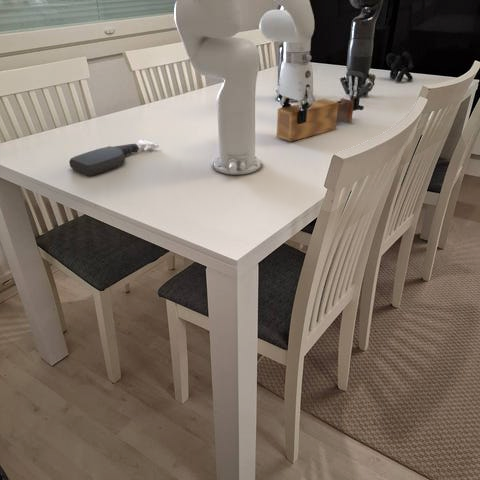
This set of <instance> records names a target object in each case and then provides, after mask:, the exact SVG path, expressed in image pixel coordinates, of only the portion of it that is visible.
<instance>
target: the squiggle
mask: <svg viewBox="0 0 480 480" xmlns="http://www.w3.org/2000/svg"><path fill="white" fill-rule="evenodd" d="M401 57H402V59H401ZM391 59H392V60H391ZM393 60H394V61H393ZM385 61H386V64H387V67H390V68H391V70H390V72H389V78H390V79H391V80H395V79H396V81H397V82H399V83H400V82H402V81H403V79H404V76H406V78H407V80H408V81H412V80H413V79H414V77H413V75H412V74H411V73H410V72H409V71H410V70H412V69H413V68H414V64H413V61H412V57H411V54H410V53H409V52H408V51H403V53H402V54H401V55H396V54H394V53H392V52H390V53H387V55H386V57H385ZM406 62H407V65H408V66H407V67H405V66H404V65H405V64H406ZM400 70H401V71H400Z"/></svg>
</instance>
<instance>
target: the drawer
mask: <svg viewBox="0 0 480 480" xmlns="http://www.w3.org/2000/svg"><path fill="white" fill-rule="evenodd" d="M335 102H338V111H337V120H336V124H340V123H343V122H347V123H351V122H352V120H353V114H354V112H355V111H363V110H364V105H360V104H359V107H358V108H354V109H353V106H354V101H351V100H350V99H347V98H343V97H342V98H340V99H339V100H336V101H335Z"/></svg>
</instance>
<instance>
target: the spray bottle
mask: <svg viewBox="0 0 480 480" xmlns="http://www.w3.org/2000/svg"><path fill="white" fill-rule="evenodd" d="M159 148H160V145H159V144H158V143H155V142H151V141H148V140H144V139H139V140H138V141H137V142H135V143H129V144H128V143H126V144H122V145H113V146H105V147H100V148H97V149H94V150H90V151H87V152H83V153H81V154H78V155H74V156H73V157H70V159H69V161H68V162H69V167H70V168H71V169H72V170H74V171H75V172H78V173H81V174H83V175H85V176H89V177H90V176H91V177H92V176H95V175H99V174H102V173H105V172H107V171H110V170H113V169H116V168H118V167H120V166H122V165H123V164H124V163H125V158H126V156H127V155H131V154H133V153H138V151H140V150H143V151H144V152H146V151H147V150H149V149H159Z"/></svg>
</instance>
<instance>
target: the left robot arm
mask: <svg viewBox="0 0 480 480" xmlns="http://www.w3.org/2000/svg"><path fill="white" fill-rule="evenodd" d="M272 1H273V2H274V3H277V4H278V5H279V4H280V5H281V6H282V7H283V8H285V10H277V9H270V10H268V11H266V12H265V13H264V14H263V16H262V17H261V18H260V21H259V31H260V34H261V36H262V37H263V38H264V39H265V40H268V41H270V42H277V43H282V42H284V48H283V62H282V65H281V72H280V82H279V86H278V88H276V89H275V92H276V95H277V94H278V96H279V99H280V101H279V103H280V105H281V108H283V107H288V106H292V104H291V102H290V100H291V99H294V100H298V101H297V104H298V105H299V109H300V110H298V120H297V123H298V124H302V123H305V122H306V119H307V109H309V107H310V106H311V105H312V103H313V102H314V101H316V97H315V95H314V71H313V64H312V63H311V60H312V55H311V47H312V46H311V43H312V37H313V35H314V31H315V18H314V17H315V16H314V12H313V9H312V5H311V1H310V0H272ZM174 21H175V27H176V29H177V32H178V34H179V37H180V39H181V42H182V44H183V47H184V51H185V53H186V55H187V57H188V61H189V62H190V64H191V67H192V68H193V69H194V71H195V72H196V73H197V74H198V75H201V76H203V77H208V78H213V79H219V80H222V81H223V82H222V85H221V87H220V89H219V91H218V93H217V97H216V110H217V111H216V112H217V133H218V135H217V136H218V137H217V138H218V157H216V158H215V159H214V160H213V167H214V169H215V170H216V171H217V172H219V173H222V174H226V175H233V176H234V175H238V176H239V175H247V174H252V173H254V172H256V171H258V170H259V169H260V168H261V166H262V161H261V159H260V158H259V157H258V156H256V90H257V89H256V88H257V80H258V74H259V69H260V59H261V58H260V52H259V49H258V46H256V44H255V43H254V42H252V41H251V40H249V39H246V38H244V37H237V36H235V35H237V34H238V33H239V32H240V30H241V28H242V25H243V17H242V11H241V6H240V3H239V0H175V3H174ZM303 103H304V105H303Z"/></svg>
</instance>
